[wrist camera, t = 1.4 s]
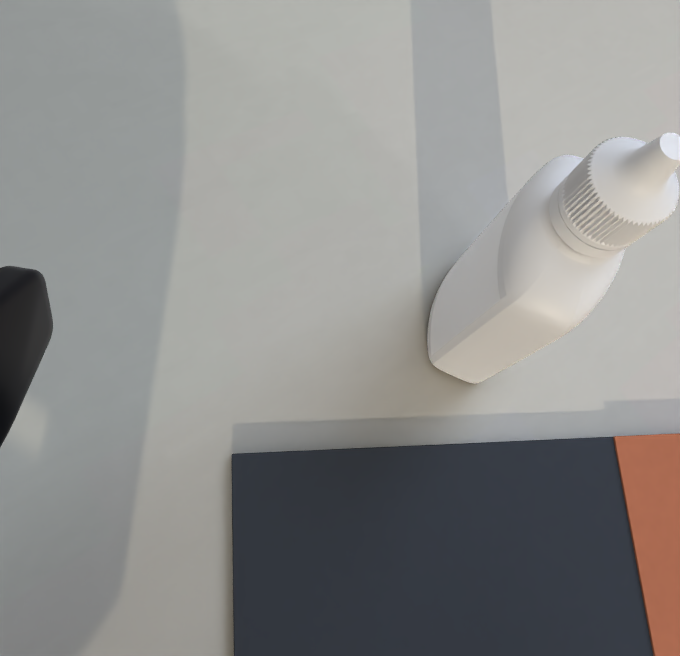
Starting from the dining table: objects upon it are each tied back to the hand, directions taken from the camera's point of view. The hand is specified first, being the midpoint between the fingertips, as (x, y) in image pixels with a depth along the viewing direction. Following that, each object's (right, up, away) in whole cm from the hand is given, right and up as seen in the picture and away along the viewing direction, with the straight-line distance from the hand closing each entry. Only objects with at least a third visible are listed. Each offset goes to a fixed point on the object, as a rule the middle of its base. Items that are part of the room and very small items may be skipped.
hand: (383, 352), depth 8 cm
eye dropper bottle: (+5, +1, +17) cm, 18 cm away
